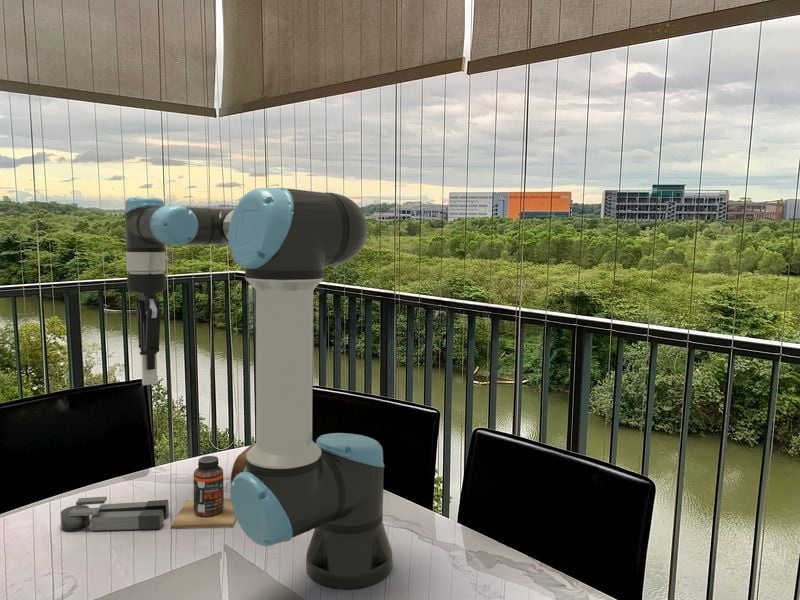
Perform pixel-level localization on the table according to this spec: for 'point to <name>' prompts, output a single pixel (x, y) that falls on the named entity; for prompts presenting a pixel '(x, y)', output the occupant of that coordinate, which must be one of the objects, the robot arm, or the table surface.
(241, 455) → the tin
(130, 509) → the tong jaw
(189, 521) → the cork mat
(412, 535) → the table surface
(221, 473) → the supplement bottle
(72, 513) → the tongs base
